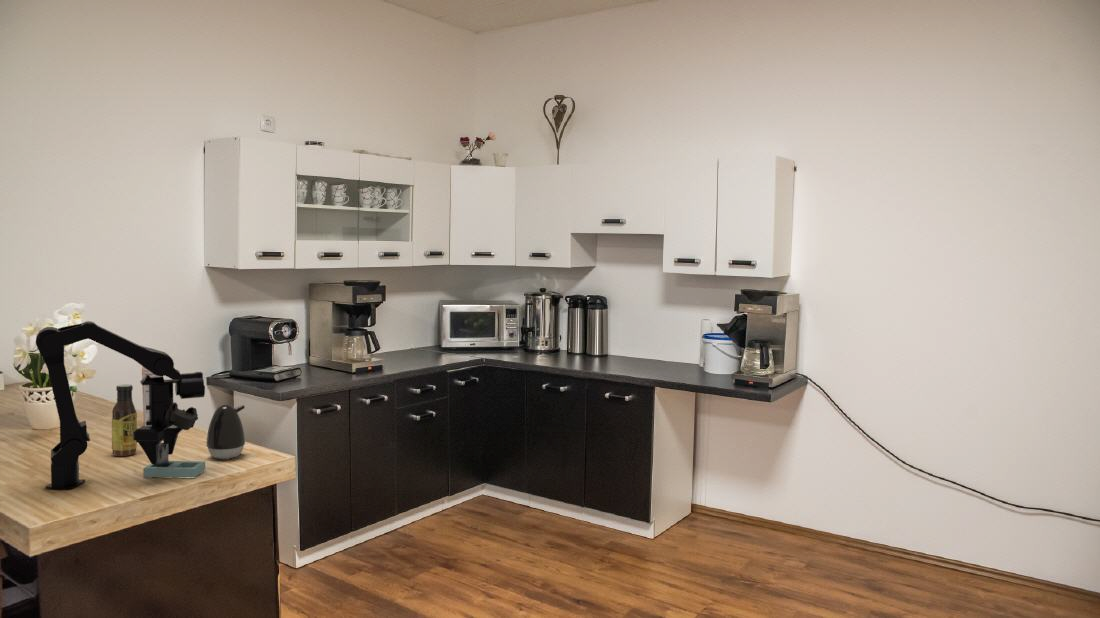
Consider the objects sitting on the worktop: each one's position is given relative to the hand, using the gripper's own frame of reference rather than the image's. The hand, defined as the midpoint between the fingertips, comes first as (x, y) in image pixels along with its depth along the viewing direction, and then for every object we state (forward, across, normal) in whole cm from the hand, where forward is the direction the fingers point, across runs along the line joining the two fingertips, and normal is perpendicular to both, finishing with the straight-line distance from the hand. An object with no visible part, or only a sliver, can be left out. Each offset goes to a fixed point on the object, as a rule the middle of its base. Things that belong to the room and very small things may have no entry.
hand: (162, 459), depth 208 cm
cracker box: (+4, +50, +26) cm, 56 cm away
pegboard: (+4, 0, -3) cm, 5 cm away
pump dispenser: (+4, +17, -10) cm, 20 cm away
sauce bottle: (+4, +18, +19) cm, 26 cm away
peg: (+4, 0, 0) cm, 4 cm away
